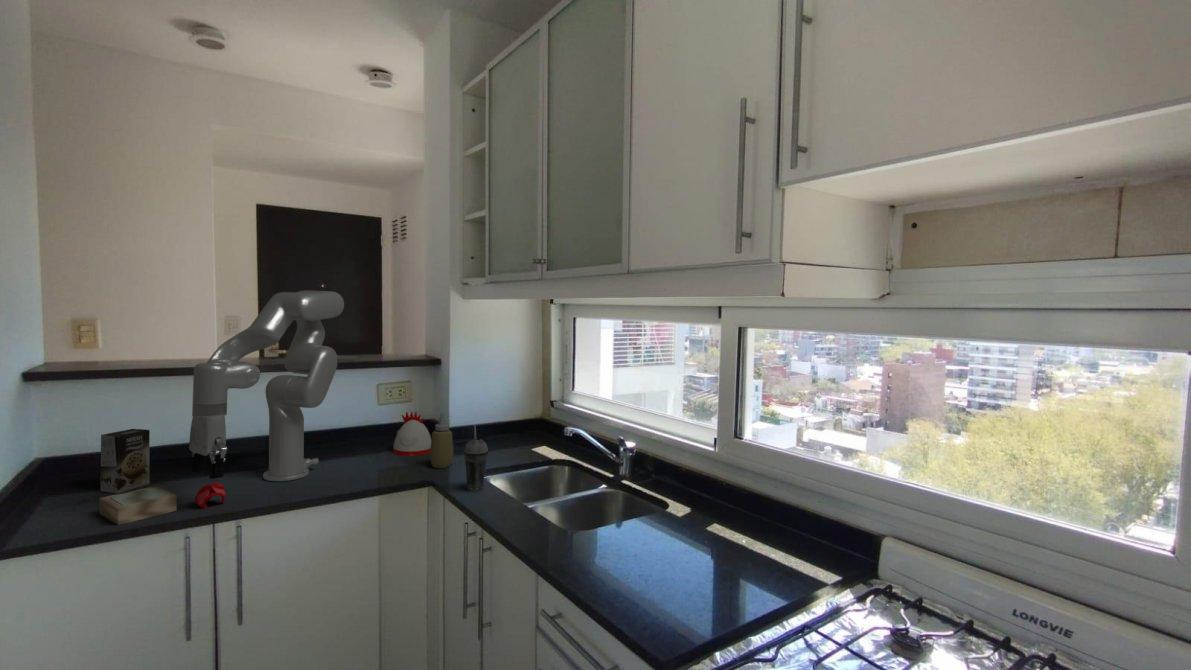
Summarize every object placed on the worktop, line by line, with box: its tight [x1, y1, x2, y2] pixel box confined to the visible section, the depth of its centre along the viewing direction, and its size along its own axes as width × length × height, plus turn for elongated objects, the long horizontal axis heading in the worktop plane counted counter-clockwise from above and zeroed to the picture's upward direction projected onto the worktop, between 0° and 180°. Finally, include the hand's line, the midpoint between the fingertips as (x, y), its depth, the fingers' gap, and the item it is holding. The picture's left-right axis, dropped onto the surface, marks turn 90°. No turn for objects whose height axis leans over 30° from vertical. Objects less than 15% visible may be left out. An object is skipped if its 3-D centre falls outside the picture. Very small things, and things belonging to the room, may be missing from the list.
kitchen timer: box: [392, 411, 432, 457], centre depth 207 cm, size 14×14×15 cm
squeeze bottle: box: [428, 413, 455, 469], centre depth 189 cm, size 8×8×18 cm
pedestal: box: [98, 485, 178, 526], centre depth 141 cm, size 12×12×4 cm
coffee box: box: [100, 428, 150, 494], centre depth 157 cm, size 9×6×16 cm
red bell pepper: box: [194, 482, 227, 509], centre depth 148 cm, size 8×6×6 cm
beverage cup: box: [463, 424, 489, 493], centre depth 167 cm, size 7×7×20 cm
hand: (207, 474), depth 146 cm, fingers open, 9 cm apart
